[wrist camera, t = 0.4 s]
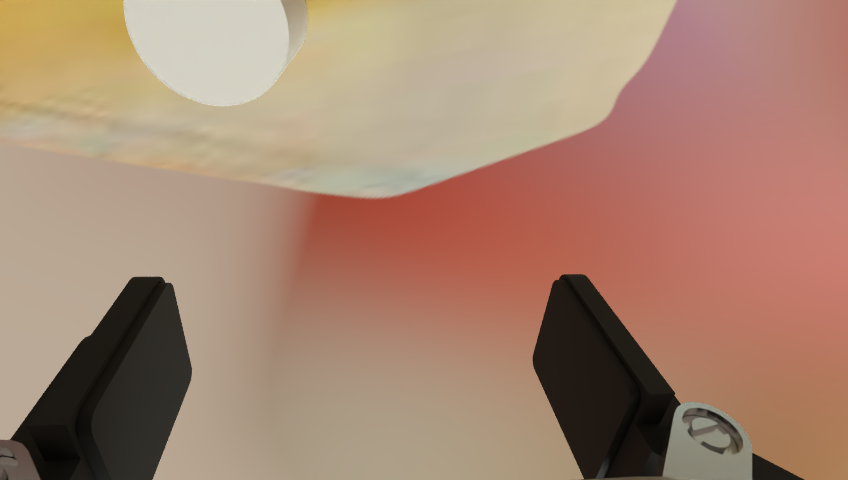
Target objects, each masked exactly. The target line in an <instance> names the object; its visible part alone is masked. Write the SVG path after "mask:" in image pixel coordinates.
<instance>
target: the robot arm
mask: <svg viewBox="0 0 848 480" xmlns="http://www.w3.org/2000/svg"><path fill="white" fill-rule="evenodd" d="M533 366H534V369H535V371H536V374H537V376H538V378H539V380H540V382H541V385H542V387H543V389H544V391H545V394H546V396H547V398H548V400H549V402H550V404H551V407H552V409H553V411H554V413H555V416H556V418H557V420H558V422H559V424H560V427H561V429H562V431H563V433H564V435H565V438H566V440H567V442H568V444H569V446H570V449H571V451H572V453H573V455H574V458H575V460H576V462H577V464H578V466H579V469H580V471H581V473H582V475H583V477H584V479H583V480H804V479H802V478H800V477H798V476H796V475H794V474H792V473H790V472H788V471H786V470H784V469H783V468H781V467H779V466H777V465H774V464H773V463H771V462H769V461H767V460H765V459H763V458H761V457H759V456H757V455H755V454H754V453H752V446H751V442H750V439H749V437H748V435H747V434H746V432H745V430H744V429H743V428H742V427H741V426H740V425H739V424H738V423H737V422H736V421H735V420H734V419H732V418H731V417H730V416H728V415H727V414H726V413H724V412H722V411H720V410H718V409H717V408H715V407H712V406H709V405H706V404H703V403H697V402H688V403H683V404H680V403H679V401H678V400H677V399H676V397H675V396H674V395H675V392H674V391H673V390H672V388H671V387H670V386H669V385H668V383H667V382H666V380H665V379H664V378H663V377H662V375H661V374H660V373H659V371H658V370H657V369H656V367H655V366H654V365H653V364H652V362H651V361H650V359H649V358H648V357H647V355H646V354H645V353H644V351H643V350H642V349H641V348H640V346H639V345H638V343H637V342H636V341H635V340H634V338H633V337H632V336H631V334H630V333H629V332H628V330H627V329H626V328H625V326H624V325H623V324H622V322H621V321H620V320H619V318H618V317H617V316H616V315H615V313H614V312H613V311H612V309H611V308H610V306H608V304H607V302H606V301H605V300H604V299H603V297H602V296H601V295H600V293H599V292H598V291H597V289H596V288H595V287H594V285H593V284H592V283H591V281H590V280H589V279H588V277H587V276H585V275H583V274H570V275H569V274H568V275H567V274H566V275H565V274H564V275H562V276H561V277H560V278H559V280H555V281H554V282H553V285H552V288H551V292H550V296H549V299H548V303H547V306H546V310H545V314H544V317H543V321H542V325H541V328H540V332H539V336H538V339H537V343H536V346H535V350H534V354H533ZM191 374H192V368H191V363H190V358H189V354H188V350H187V345H186V340H185V336H184V332H183V327H182V323H181V319H180V314H179V310H178V305H177V301H176V297H175V292H174V288H173V285H172V284H171V283H165V281H164V279H163V278H162V277H133V278H132V279H131V280H130V281H129V282H128V284H127V285H126V286H125V288H124V289H123V291H122V292H121V293H120V295H119V296H118V298H117V299H116V300H115V302H114V303H113V305H112V306H111V308H110V309H109V310H108V312H107V313H106V315H105V316H104V318H103V319H102V320H101V322H100V323H99V325H98V326H97V327H96V329H95V330H94V332H93V333H92V334H91V335H90V336H88V337H86V338H84V339H83V340H82V341H81V342H80V344H79V345H78V346H77V348H76V349H75V351H74V352H73V353H72V355H71V356H70V358H69V359H68V360H67V362H66V363H65V364H64V366H63V367H62V369H61V370H60V371H59V373H58V374H57V375H56V377H55V378H54V380H53V381H52V382H51V384H50V385H49V387H48V388H47V389H46V391H45V392H44V393H43V395H42V396H41V398H40V399H39V400H38V402H37V403H36V405H35V406H34V407H33V409H32V410H31V412H30V413H29V414H28V416H27V417H26V418H25V420H24V421H23V423H22V424H21V425H20V427H19V428H18V430H17V431H16V432H15V434H14V435H13V437H12V438H11V439H10V440H0V480H152V479H153V477H154V474H155V471H156V469H157V466H158V464H159V461H160V459H161V456H162V454H163V451H164V448H165V445H166V443H167V441H168V437H169V436H170V433H171V430H172V428H173V425H174V423H175V420H176V417H177V415H178V412H179V410H180V407H181V405H182V402H183V399H184V397H185V394H186V392H187V389H188V386H189V384H190V381H191Z"/></svg>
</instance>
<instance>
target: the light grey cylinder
mask: <svg viewBox="0 0 848 480" xmlns="http://www.w3.org/2000/svg"><path fill="white" fill-rule="evenodd" d="M124 15H125V21H126V26H127V30H128V33H129V36H130V38H131V41H132V43H133V45H134V47H135V49H136V51H137V53H138V54H139V56H140V58H141V59H142V61H143V62H144V63H145V65H146V66H147V67H148V68H149V70H150V71H151V72H152V73H153V74H154V75H155V76H156V77H157V78H158V79H159V80H160V81H161V82H162V83H164V84H165V85H166V86H167V87H169V88H170V89H172V90H173V91H175V92H176V93H178V94H180V95H182V96H184V97H186V98H188V99H190V100H193V101H196V102H199V103H202V104H206V105H212V106H234V105H239V104H243V103H247V102H249V101H252V100H254V99H256V98H258V97H259V96H261V95H262V94H263V93H265V92H266V91H267V90H268V89H269V88H270V87H271V86H272V85H273V84H274V83H275V81H276V80H277V79H278V78H279V76H280V75H281V74H282V72H283V71H284V70H285V68H286V67H287V66H288V64H289V63H290V62H291V60H292V59H293V58H294V56H295V55H296V54H297V53H298V51H299V50H300V48H301V47H302V45H303V42H304V40H305V37H306V34H307V28H308V11H307V6H306V2H305V0H124Z"/></svg>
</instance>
